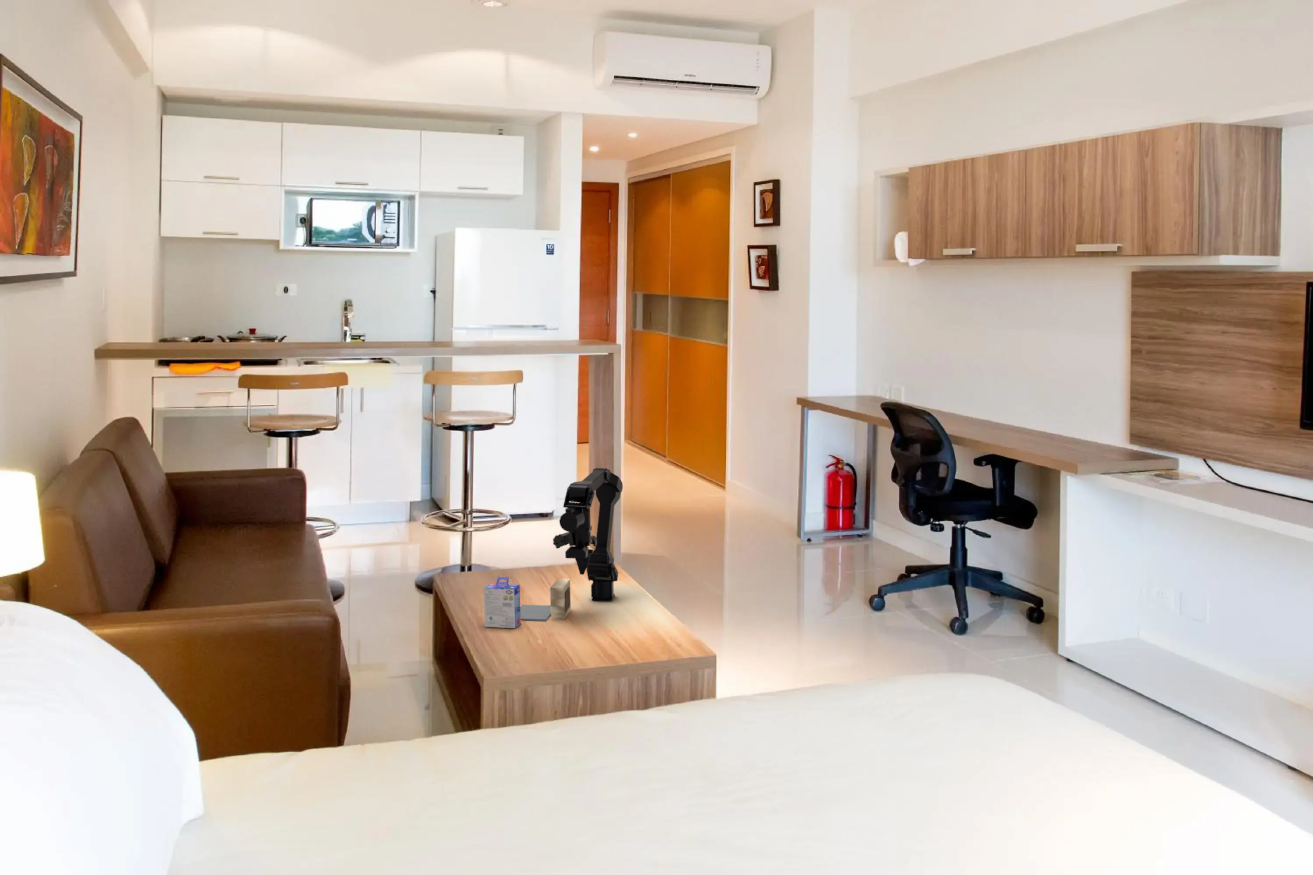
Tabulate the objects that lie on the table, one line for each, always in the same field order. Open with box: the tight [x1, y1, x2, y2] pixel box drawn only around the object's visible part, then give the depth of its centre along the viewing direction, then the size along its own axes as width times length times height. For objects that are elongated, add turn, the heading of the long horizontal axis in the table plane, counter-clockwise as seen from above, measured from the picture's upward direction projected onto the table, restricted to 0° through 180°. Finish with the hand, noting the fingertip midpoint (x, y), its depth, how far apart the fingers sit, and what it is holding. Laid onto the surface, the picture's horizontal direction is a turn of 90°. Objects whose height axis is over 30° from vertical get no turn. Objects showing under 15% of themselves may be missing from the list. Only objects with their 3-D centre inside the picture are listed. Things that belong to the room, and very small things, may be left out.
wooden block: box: [549, 578, 572, 621], centre depth 358 cm, size 4×10×10 cm, turn 172°
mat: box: [520, 604, 551, 622], centre depth 360 cm, size 11×14×1 cm
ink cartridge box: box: [483, 576, 522, 629], centre depth 348 cm, size 10×6×14 cm, turn 78°
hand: (582, 574), depth 356 cm, fingers closed
